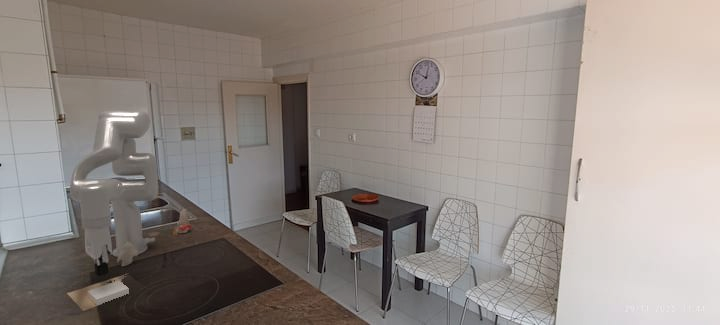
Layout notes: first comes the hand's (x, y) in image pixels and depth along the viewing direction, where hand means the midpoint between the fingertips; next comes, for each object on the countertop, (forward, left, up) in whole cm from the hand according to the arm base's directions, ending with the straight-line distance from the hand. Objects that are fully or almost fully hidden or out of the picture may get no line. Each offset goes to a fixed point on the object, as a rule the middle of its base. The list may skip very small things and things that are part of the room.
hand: (102, 274), depth 116 cm
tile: (0, 0, -5) cm, 5 cm away
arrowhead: (-13, -16, -7) cm, 22 cm away
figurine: (-44, -36, -7) cm, 57 cm away
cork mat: (-1, 0, -7) cm, 7 cm away
